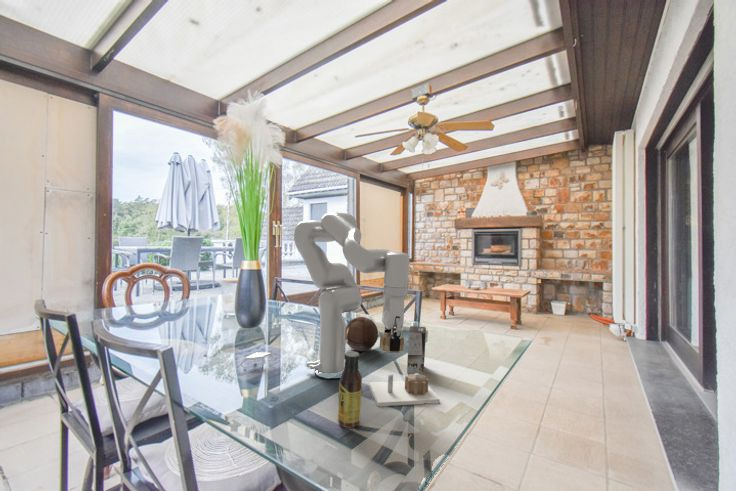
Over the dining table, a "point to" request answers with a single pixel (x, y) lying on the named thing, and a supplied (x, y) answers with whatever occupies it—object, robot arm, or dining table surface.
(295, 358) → the dining table surface
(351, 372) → the sauce bottle
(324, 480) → the dining table surface
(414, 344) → the coffee box
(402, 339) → the beech gear
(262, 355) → the origami figure
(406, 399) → the gear board
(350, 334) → the wooden sphere
